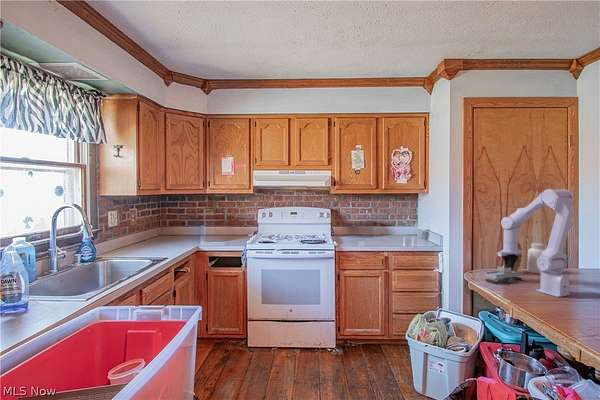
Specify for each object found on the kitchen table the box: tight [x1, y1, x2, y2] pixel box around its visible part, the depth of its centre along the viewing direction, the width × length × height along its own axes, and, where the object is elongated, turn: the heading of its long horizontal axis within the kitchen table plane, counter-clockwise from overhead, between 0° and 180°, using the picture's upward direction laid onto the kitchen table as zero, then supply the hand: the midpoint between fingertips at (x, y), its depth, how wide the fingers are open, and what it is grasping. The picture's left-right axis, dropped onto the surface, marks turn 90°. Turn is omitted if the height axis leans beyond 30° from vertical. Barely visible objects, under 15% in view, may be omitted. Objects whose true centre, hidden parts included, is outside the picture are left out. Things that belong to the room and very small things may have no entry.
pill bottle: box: [526, 242, 545, 275], centre depth 180 cm, size 8×8×15 cm
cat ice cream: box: [513, 239, 523, 272], centre depth 178 cm, size 9×8×18 cm
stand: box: [485, 276, 523, 285], centre depth 163 cm, size 7×18×2 cm, turn 112°
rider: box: [496, 265, 511, 274], centre depth 163 cm, size 3×5×4 cm
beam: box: [484, 270, 524, 279], centre depth 163 cm, size 6×18×2 cm, turn 112°
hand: (509, 270), depth 165 cm, fingers closed
